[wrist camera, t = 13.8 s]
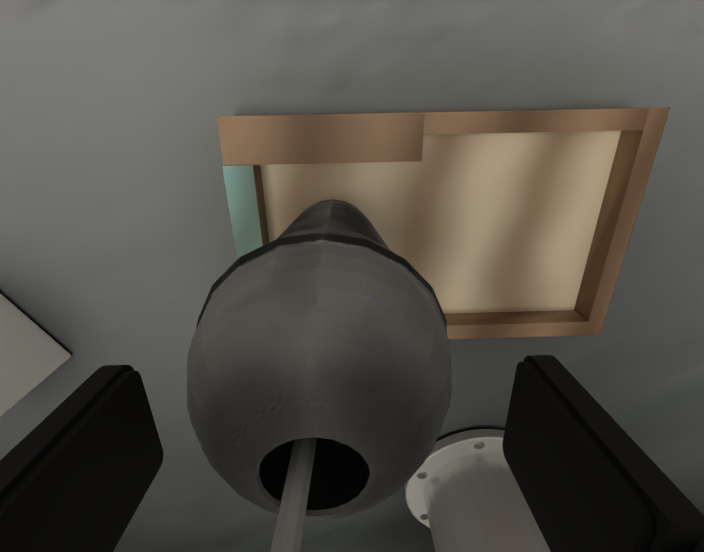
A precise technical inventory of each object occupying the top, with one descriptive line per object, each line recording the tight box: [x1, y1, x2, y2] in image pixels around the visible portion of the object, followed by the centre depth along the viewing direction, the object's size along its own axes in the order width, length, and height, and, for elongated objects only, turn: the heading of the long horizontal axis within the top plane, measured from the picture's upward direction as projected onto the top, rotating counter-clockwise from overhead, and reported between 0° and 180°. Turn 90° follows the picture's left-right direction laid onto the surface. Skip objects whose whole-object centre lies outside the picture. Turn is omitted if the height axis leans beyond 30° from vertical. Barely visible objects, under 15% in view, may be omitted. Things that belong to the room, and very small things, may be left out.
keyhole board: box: [216, 108, 670, 339], centre depth 21 cm, size 22×13×3 cm, turn 91°
